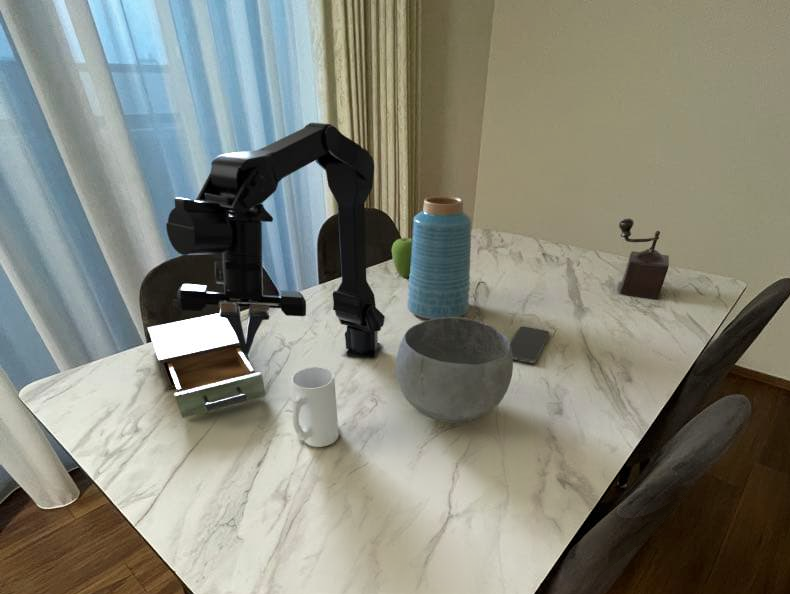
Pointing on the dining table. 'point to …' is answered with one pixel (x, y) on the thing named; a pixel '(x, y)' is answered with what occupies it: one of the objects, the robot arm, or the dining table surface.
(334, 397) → the mug
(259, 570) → the dining table surface
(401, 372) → the bowl
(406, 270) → the green rounded piece
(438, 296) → the vase
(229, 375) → the drawer
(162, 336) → the cabinet
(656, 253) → the manual coffee grinder
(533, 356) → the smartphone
